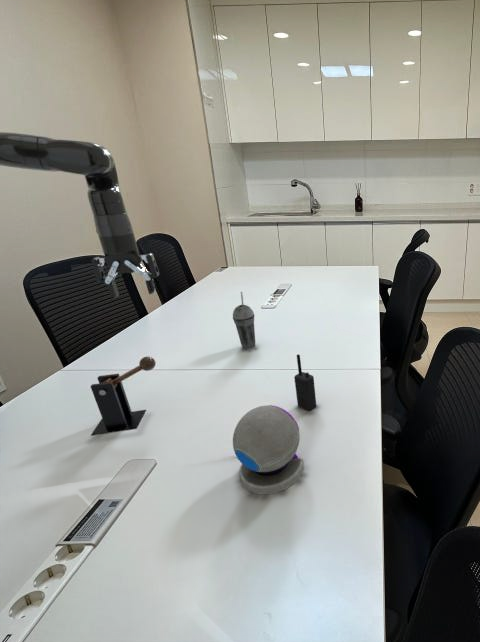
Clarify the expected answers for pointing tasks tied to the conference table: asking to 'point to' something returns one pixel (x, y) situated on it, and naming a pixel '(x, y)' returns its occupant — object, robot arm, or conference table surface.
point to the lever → (135, 370)
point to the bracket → (114, 407)
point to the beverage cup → (245, 325)
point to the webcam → (267, 449)
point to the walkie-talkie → (305, 389)
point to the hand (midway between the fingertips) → (134, 294)
